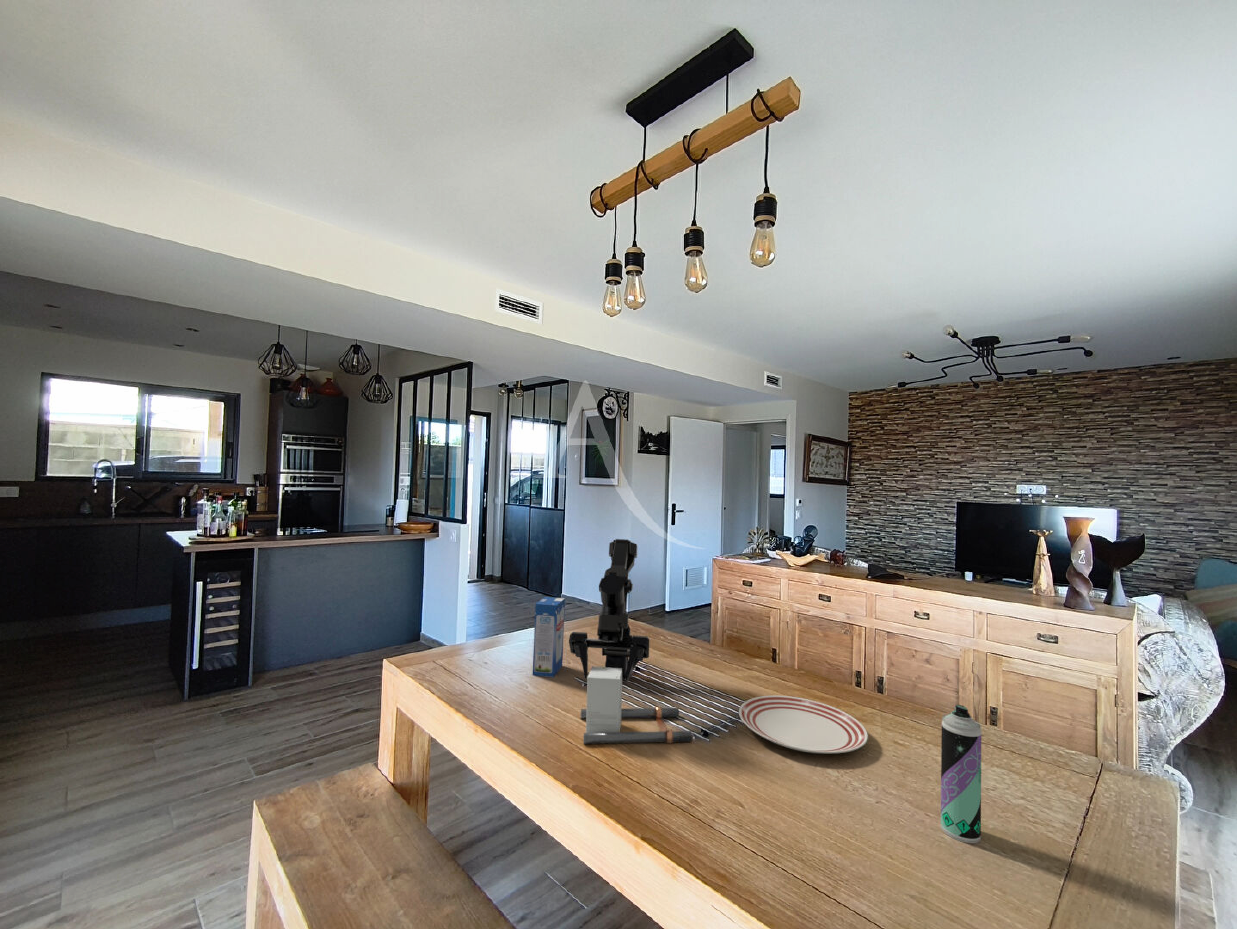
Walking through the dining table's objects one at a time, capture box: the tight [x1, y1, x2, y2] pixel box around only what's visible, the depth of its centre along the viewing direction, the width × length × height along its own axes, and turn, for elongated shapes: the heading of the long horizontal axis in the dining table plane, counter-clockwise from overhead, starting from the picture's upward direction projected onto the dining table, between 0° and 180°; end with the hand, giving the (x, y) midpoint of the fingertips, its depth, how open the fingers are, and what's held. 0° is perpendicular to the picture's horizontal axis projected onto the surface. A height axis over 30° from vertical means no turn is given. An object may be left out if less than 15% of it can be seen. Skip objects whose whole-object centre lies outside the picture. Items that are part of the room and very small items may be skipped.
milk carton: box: [532, 596, 566, 678], centre depth 154 cm, size 10×6×20 cm, turn 172°
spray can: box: [940, 704, 982, 844], centre depth 86 cm, size 6×6×20 cm
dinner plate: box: [738, 695, 869, 755], centre depth 120 cm, size 28×27×3 cm
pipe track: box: [580, 706, 693, 745], centre depth 118 cm, size 23×15×3 cm, turn 97°
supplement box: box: [585, 666, 623, 733], centre depth 118 cm, size 7×7×13 cm
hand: (605, 679), depth 119 cm, fingers open, 9 cm apart
